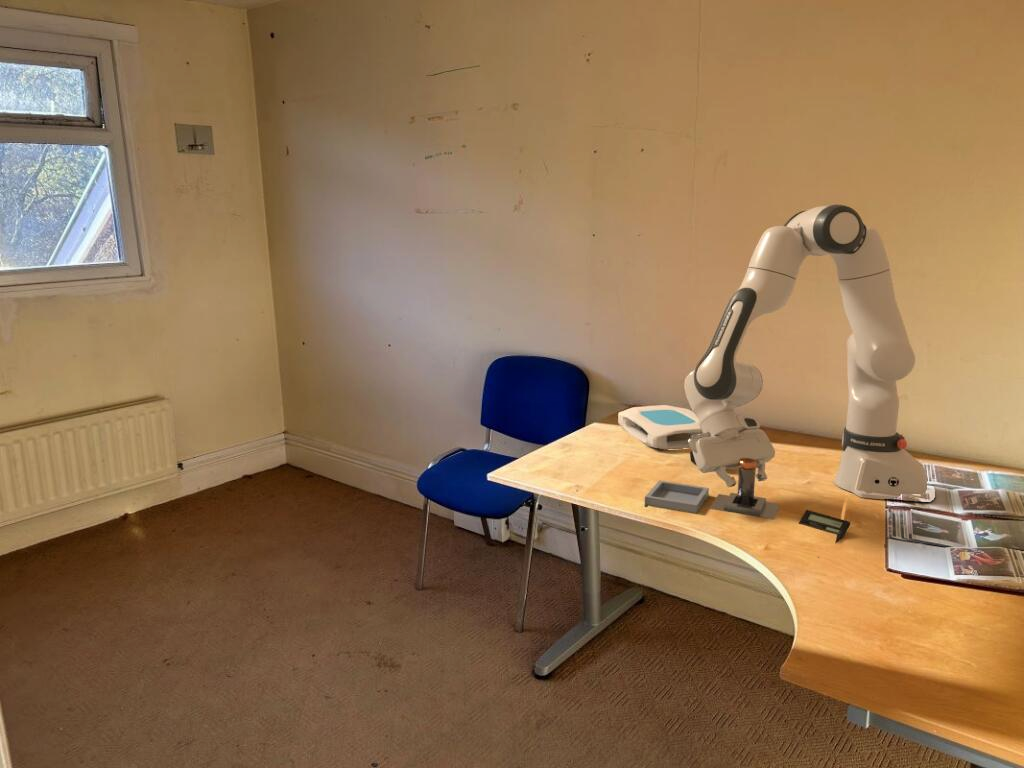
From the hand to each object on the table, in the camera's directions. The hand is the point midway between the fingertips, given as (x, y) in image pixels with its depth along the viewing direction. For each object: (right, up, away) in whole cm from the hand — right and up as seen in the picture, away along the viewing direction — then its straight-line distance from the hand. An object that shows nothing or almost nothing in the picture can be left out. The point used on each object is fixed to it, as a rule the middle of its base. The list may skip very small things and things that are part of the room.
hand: (748, 482), depth 168 cm
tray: (-15, -5, +6) cm, 17 cm away
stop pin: (0, -6, +2) cm, 6 cm away
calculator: (+10, -10, -12) cm, 19 cm away
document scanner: (-6, +6, +59) cm, 59 cm away
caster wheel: (-1, 0, +32) cm, 32 cm away
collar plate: (0, -6, +2) cm, 7 cm away
